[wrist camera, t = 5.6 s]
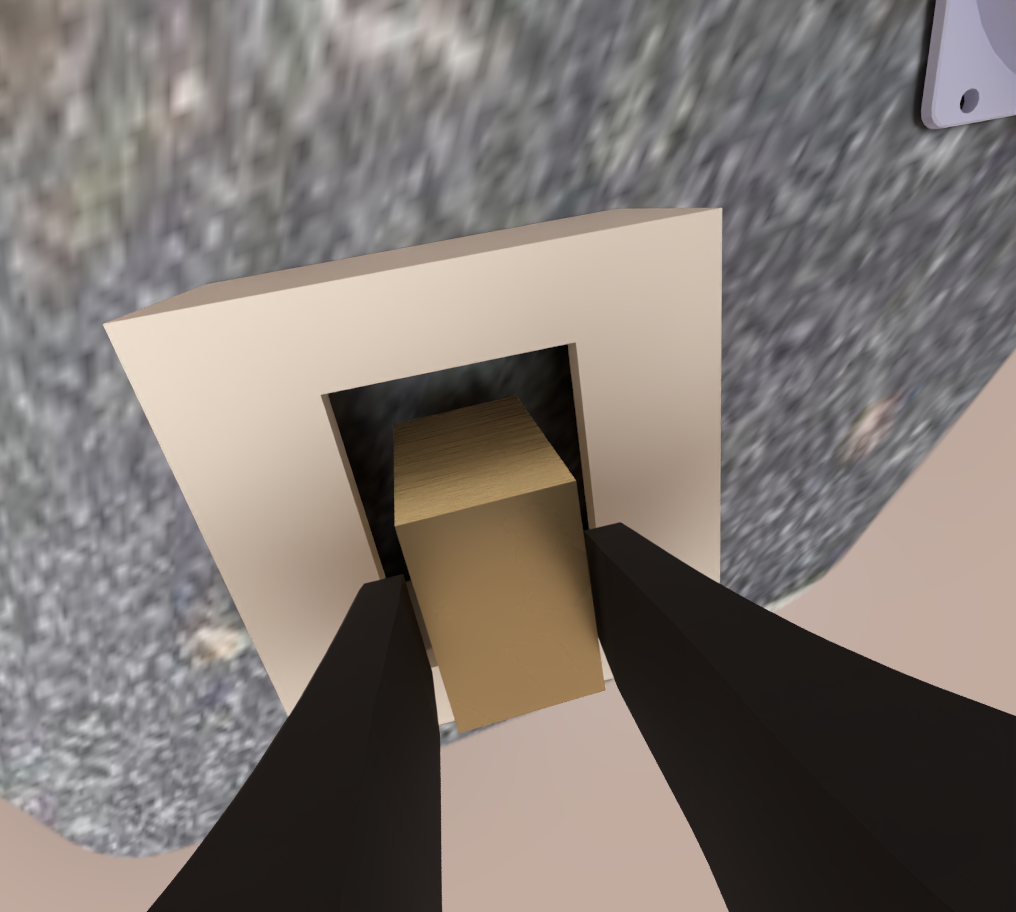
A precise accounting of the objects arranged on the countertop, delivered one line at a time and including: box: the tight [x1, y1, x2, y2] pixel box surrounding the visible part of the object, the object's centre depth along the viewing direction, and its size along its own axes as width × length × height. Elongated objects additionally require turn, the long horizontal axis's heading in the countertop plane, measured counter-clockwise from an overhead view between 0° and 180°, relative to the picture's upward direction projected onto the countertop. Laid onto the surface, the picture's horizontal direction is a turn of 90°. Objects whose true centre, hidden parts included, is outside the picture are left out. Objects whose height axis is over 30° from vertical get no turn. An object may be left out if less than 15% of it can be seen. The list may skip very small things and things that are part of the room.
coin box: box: [103, 208, 722, 725], centre depth 13 cm, size 10×10×5 cm
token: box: [394, 396, 605, 733], centre depth 10 cm, size 2×4×4 cm, turn 10°
